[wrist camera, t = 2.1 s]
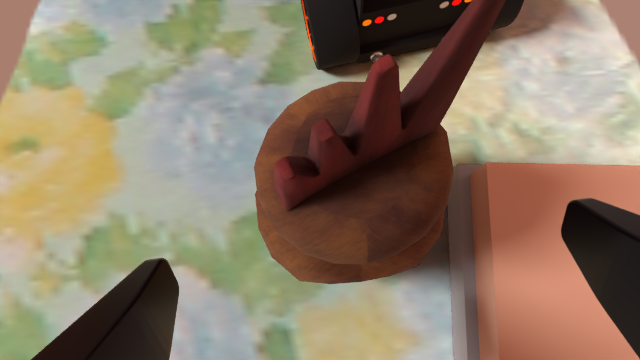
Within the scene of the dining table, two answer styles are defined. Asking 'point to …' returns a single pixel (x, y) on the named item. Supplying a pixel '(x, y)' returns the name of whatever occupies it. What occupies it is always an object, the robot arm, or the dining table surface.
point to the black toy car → (383, 26)
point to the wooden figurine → (366, 165)
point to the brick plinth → (528, 262)
